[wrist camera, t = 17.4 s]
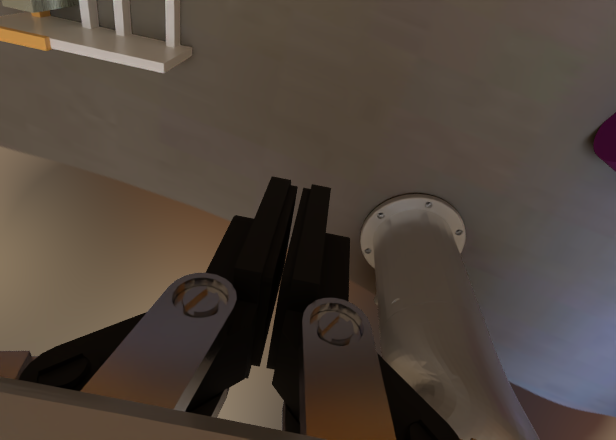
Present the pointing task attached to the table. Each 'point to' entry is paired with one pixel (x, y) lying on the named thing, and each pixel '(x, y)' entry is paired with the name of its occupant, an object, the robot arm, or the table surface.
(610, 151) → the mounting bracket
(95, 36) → the rack
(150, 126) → the table surface
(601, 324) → the table surface
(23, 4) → the panel
